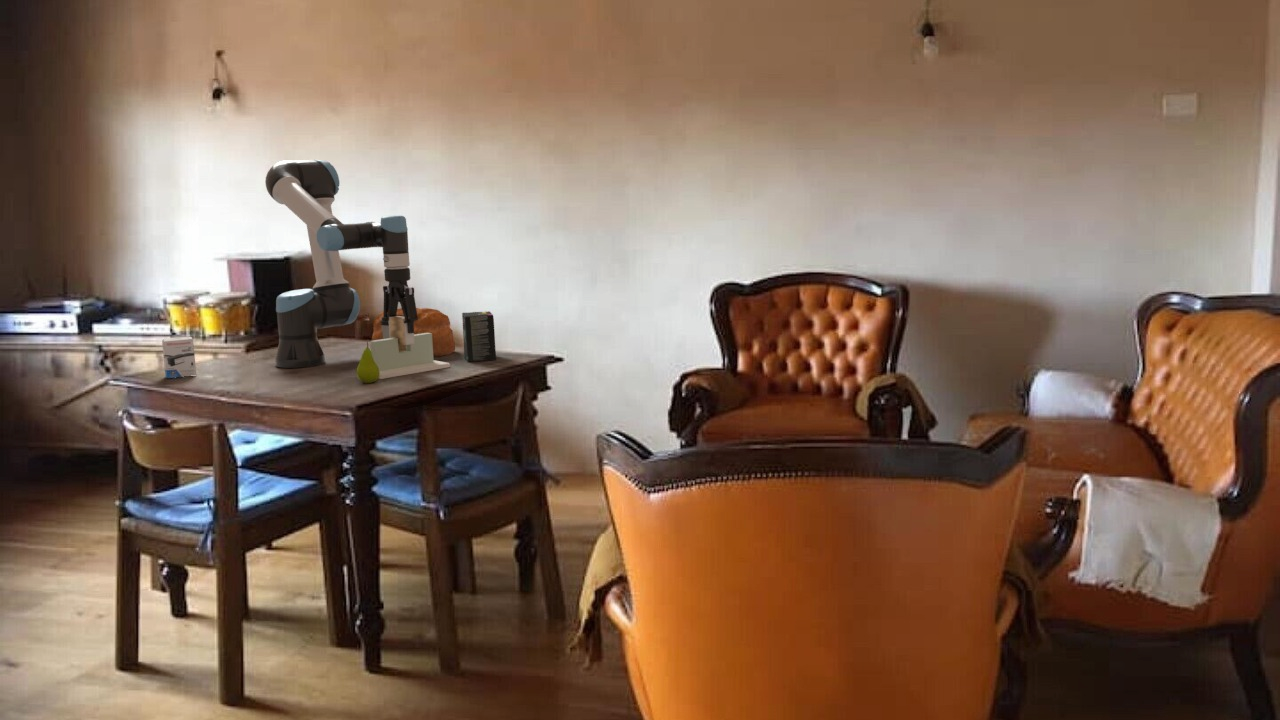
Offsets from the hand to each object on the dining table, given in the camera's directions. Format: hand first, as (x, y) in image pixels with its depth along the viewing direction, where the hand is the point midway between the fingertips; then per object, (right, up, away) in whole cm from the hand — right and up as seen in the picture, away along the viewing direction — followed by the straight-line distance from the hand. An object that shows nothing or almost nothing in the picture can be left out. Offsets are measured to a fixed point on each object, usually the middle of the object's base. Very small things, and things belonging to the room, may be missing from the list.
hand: (402, 342), depth 333 cm
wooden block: (0, 0, 0) cm, 0 cm away
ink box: (-68, -11, +2) cm, 69 cm away
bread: (-3, -3, +32) cm, 33 cm away
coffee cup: (-5, -7, +14) cm, 16 cm away
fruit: (-6, -12, -17) cm, 21 cm away
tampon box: (+21, -5, +18) cm, 28 cm away
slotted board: (0, -8, +2) cm, 9 cm away
